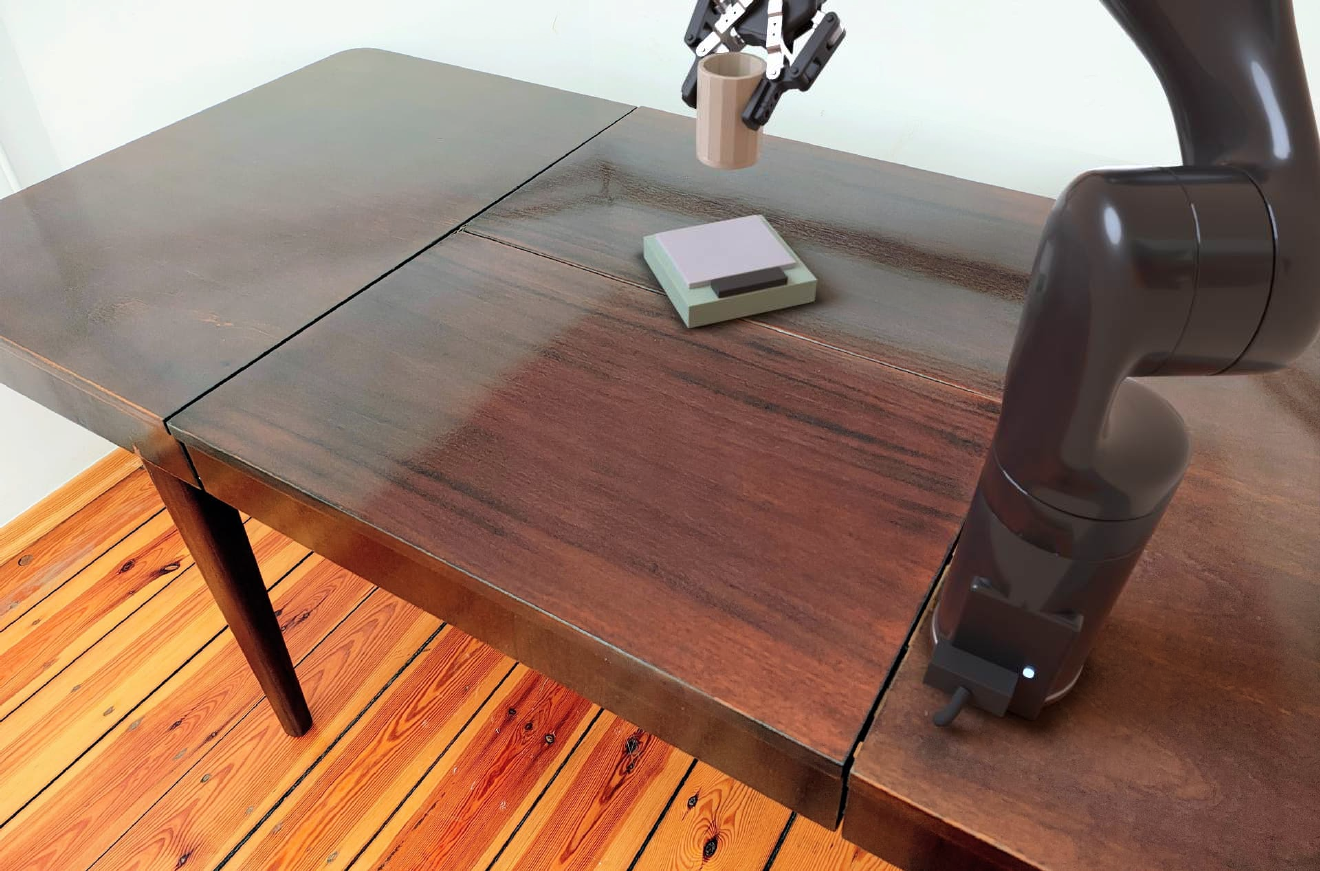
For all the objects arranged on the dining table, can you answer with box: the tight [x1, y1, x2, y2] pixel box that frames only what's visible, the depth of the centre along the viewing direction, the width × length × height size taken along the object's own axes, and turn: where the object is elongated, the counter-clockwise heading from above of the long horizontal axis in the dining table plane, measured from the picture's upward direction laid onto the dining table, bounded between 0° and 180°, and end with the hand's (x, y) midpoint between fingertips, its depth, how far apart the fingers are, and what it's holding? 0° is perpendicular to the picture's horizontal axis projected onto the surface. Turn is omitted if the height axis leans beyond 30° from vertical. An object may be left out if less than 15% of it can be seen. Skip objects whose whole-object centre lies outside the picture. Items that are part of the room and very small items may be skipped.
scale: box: [643, 214, 818, 329], centre depth 92 cm, size 13×13×3 cm
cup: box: [695, 51, 767, 171], centre depth 80 cm, size 6×6×8 cm
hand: (718, 114), depth 79 cm, fingers closed on cup, 6 cm apart
